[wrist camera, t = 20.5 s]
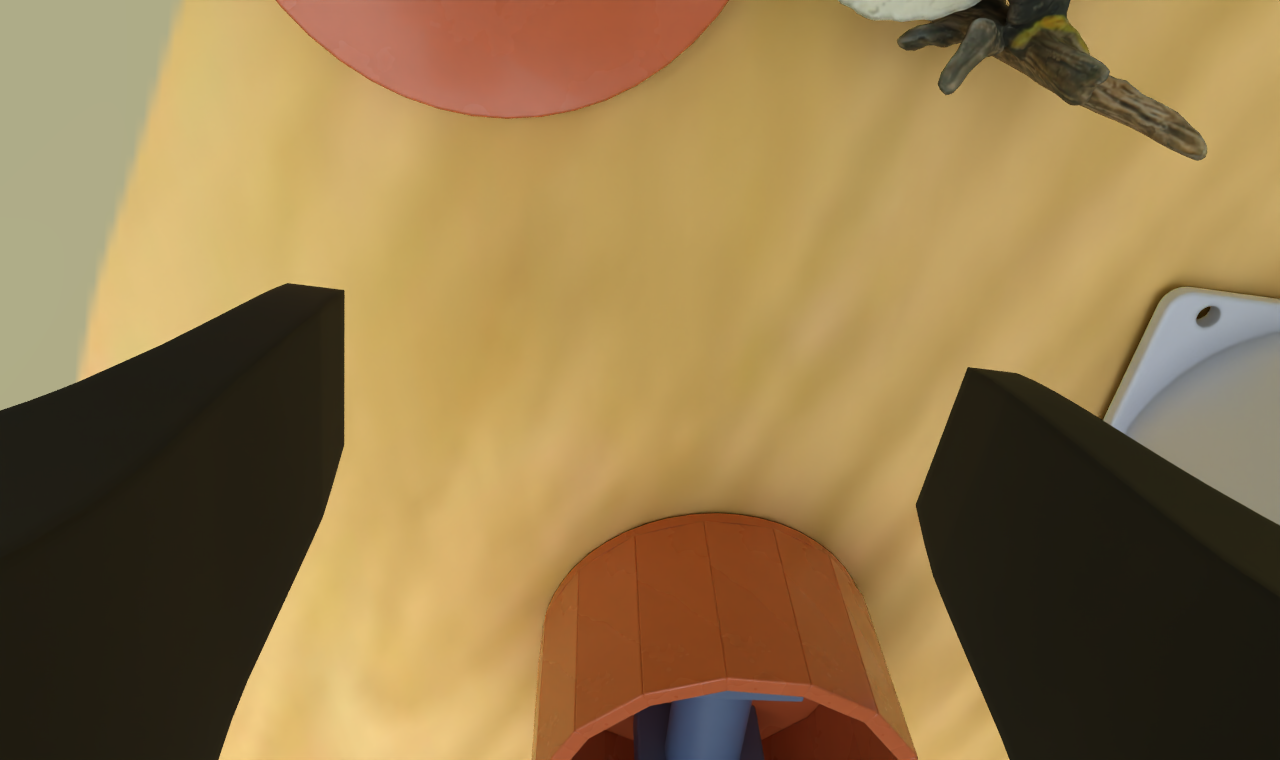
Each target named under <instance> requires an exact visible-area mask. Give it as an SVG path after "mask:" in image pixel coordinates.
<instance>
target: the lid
mask: <svg viewBox="0 0 1280 760" xmlns="http://www.w3.org/2000/svg"><path fill="white" fill-rule="evenodd" d="M276 1H277V2H278V4H279V5H280V6H281V7H282V8H283V9H284V10H285V11H286V12H287V14H288V15H289V16H290V17H291V18H292V19H293V20H294V21H295V22H296V23H297V24H298V25H299V26H300V27H301V28H302V29H303V30H304V31H305V32H306V33H307V34H308V35H309V36H310V37H311V38H313V39H314V40H315V41H316V42H318V43H319V44H320V45H321V46H322V47H324V48H325V49H326V50H327V51H329V52H330V53H331V54H332V55H333V56H335V57H336V58H337V59H338V60H340V61H341V62H343V63H344V64H346V65H347V66H349V67H351V68H352V69H354V70H355V71H357V72H358V73H360V74H361V75H363V76H365V77H366V78H368V79H369V80H371V81H373V82H375V83H377V84H379V85H381V86H383V87H385V88H387V89H389V90H391V91H393V92H395V93H397V94H399V95H401V96H403V97H406V98H409V99H412V100H415V101H418V102H420V103H423V104H426V105H429V106H432V107H435V108H438V109H442V110H447V111H452V112H456V113H461V114H466V115H471V116H480V117H493V118H505V119H509V118H529V117H543V116H548V115H554V114H559V113H564V112H570V111H575V110H578V109H581V108H584V107H587V106H590V105H593V104H596V103H599V102H602V101H605V100H608V99H610V98H612V97H614V96H616V95H618V94H620V93H622V92H624V91H626V90H628V89H630V88H633V87H635V86H637V85H638V84H640V83H641V82H643V81H644V80H646V79H647V78H649V77H651V76H652V75H654V74H655V73H657V72H658V71H660V70H661V69H663V68H664V67H666V66H667V65H668V64H669V63H671V62H672V61H673V60H674V59H675V58H676V57H678V56H679V55H680V54H681V53H682V52H683V51H685V50H686V49H687V48H688V47H689V46H690V45H692V44H693V43H694V42H695V41H696V39H697V38H698V37H699V36H700V35H701V34H702V33H703V32H704V31H705V30H706V28H707V27H708V26H709V25H710V24H711V23H712V22H713V21H714V20H715V18H716V17H717V16H718V15H719V14H720V12H721V11H722V9H723V8H724V6H725V5H726V4H727V2H728V1H729V0H276Z"/></svg>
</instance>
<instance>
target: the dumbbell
mask: <svg viewBox="0 0 1280 760" xmlns="http://www.w3.org/2000/svg"><path fill="white" fill-rule="evenodd" d="M803 698H804V697H797V696H784V695H772V694H760V693H748V692H735V691H724V692H719V693H713V694H708V695H703V696H698V697H693V698H688V699H683V700H678V701H673V702H671V703H662V704H657V705H652V706H649V707H647V708H645V709H644V710H642V711H640V712H638V713H636V714H634V721H633V738H634V760H765V759H764V753H763V748H762V742H761V736H760V731H759V725H758V719H757V714H756V709H755V707H754V706H751V705H752V700H766V701H794V702H802V701H803Z"/></svg>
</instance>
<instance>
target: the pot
mask: <svg viewBox="0 0 1280 760" xmlns="http://www.w3.org/2000/svg"><path fill="white" fill-rule="evenodd" d="M724 691H735V692H748V693H760V694H772V695H784V696H797V697H804V698H803V701H802V702H794V701H766V700H752V705H751V706H754V707H755V709H756V714H757V719H758V725H759V731H760V736H761V742H762V748H763V753H764V759H765V760H918V756H917V753H916V751H915V748H914V745H913V742H912V739H911V736H910V733H909V730H908V727H907V724H906V721H905V718H904V715H903V712H902V709H901V706H900V703H899V701H898V698H897V695H896V692H895V689H894V686H893V683H892V680H891V677H890V674H889V671H888V668H887V665H886V662H885V659H884V656H883V653H882V651H881V648H880V645H879V642H878V639H877V636H876V633H875V630H874V627H873V624H872V621H871V618H870V615H869V612H868V609H867V606H866V603H865V601H864V598H863V595H862V594H861V593H860V592H859V590H858V589H857V587H856V585H855V583H854V581H853V579H852V577H851V576H850V575H849V573H848V572H847V570H846V569H845V567H844V566H843V565H842V564H841V563H840V562H839V561H838V560H837V559H836V558H835V557H834V555H833V554H832V553H831V552H829V551H828V550H827V549H825V548H824V547H823V546H821V545H820V544H819V543H817V542H816V541H815V540H813V539H811V538H809V537H808V536H806V535H804V534H802V533H801V532H799V531H796V530H794V529H792V528H789V527H787V526H784V525H782V524H779V523H776V522H772V521H768V520H765V519H761V518H757V517H751V516H744V515H738V514H721V513H708V514H690V515H684V516H678V517H672V518H667V519H663V520H659V521H655V522H652V523H648V524H645V525H642V526H640V527H637V528H635V529H632V530H629V531H627V532H625V533H623V534H621V535H619V536H617V537H615V538H613V539H611V540H609V541H607V542H606V543H604V544H603V545H601V546H600V547H598V548H597V549H595V550H594V551H592V552H591V553H590V554H588V555H587V556H586V557H585V558H584V559H583V560H582V561H581V562H579V563H578V564H577V565H576V566H575V567H574V568H573V569H572V571H571V572H570V573H569V574H568V575H567V576H566V577H565V579H564V580H563V581H562V583H561V584H560V586H559V587H558V589H557V591H556V592H555V594H554V595H553V597H552V600H551V602H550V604H549V607H548V609H547V611H546V615H545V620H544V624H543V632H542V642H541V649H540V656H539V665H538V679H537V692H536V706H535V720H534V734H533V747H532V760H634V738H633V721H634V714H636V713H638V712H640V711H642V710H644V709H645V708H647V707H649V706H652V705H657V704H662V703H671V702H673V701H678V700H683V699H688V698H693V697H698V696H703V695H708V694H713V693H719V692H724Z"/></svg>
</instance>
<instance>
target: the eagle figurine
mask: <svg viewBox="0 0 1280 760" xmlns="http://www.w3.org/2000/svg"><path fill="white" fill-rule="evenodd" d="M838 1H839V2H840V3H841V4H843V5H845V6H847V7H849V8H851V9H853V10H854V11H855V12H856V13H857V14H859V15H861V16H863V17H865V18H867V19H870V20H874V21H876V20H893V21H899V22H906V21H914V20H921V19H924V20H929V21H930V22H932V23H929V24H925V25H919V26H916V27H914V28H912V29H910V30H908V31H907V32H905V33H904V34H903V35H902V36H900V37H899V39H898V40H897V43H898V45H899V46H900V47H901V48H903V49H905V50H913V51H915V50H917V49H920V48H923V47H925V46H928V45H934V46H938V47H948V46H950V45H952V44H958V43H961V44H960V46H959V48H958V50H957V52H956V53H955V54H954V56H953V57H952V58H951V59H950V61H949V62H948V64H947V65H946V67H945V68H944V69H943V71H942V72H941V75H940V78H939V81H938V86H939V88H940V90H941V91H942V92H943V93H944V94H945V95H949V94H952V93H953V92H954V91H955V90H956V89H957V88H958V87H959V86H960V85H961V83H962V82H963V80H964V79H965V77H966V76H967V75H968V73H969V72H970V71H971V70H972V69H973V68H974V67H975V66H976V65H977V64H978V63H979V62H981V61H982V60H983V59H984V58H985V57H989V56H994V57H995V58H997V59H999V60H1001V61H1002V62H1004V63H1006V64H1008V65H1010V66H1011V67H1013V68H1015V69H1017V70H1019V71H1020V72H1022V73H1024V74H1025V75H1027V76H1029V77H1030V78H1031V79H1033V80H1034V81H1035V82H1037V83H1038V84H1040V85H1041V86H1043V87H1045V88H1047V89H1048V90H1050V91H1052V92H1053V93H1055V94H1057V95H1058V96H1059V97H1060V98H1061V99H1062V100H1064V101H1065V102H1066V103H1068V104H1070V105H1080V106H1083V107H1085V108H1087V109H1089V110H1091V111H1093V112H1095V113H1098V114H1100V115H1103V116H1105V117H1108V118H1110V119H1113V120H1115V121H1117V122H1119V123H1122V124H1124V125H1126V126H1129V127H1131V128H1133V129H1135V130H1137V131H1139V132H1141V133H1142V134H1144V135H1146V136H1148V137H1149V138H1151V139H1153V140H1154V141H1156V142H1158V143H1160V144H1162V145H1163V146H1165V147H1167V148H1169V149H1171V150H1173V151H1175V152H1178V153H1180V154H1182V155H1184V156H1186V157H1189V158H1191V159H1194V160H1197V161H1199V160H1202V159H1203V158H1205V157H1206V154H1207V145H1206V143H1205V141H1204V139H1203V138H1202V136H1201V135H1200V133H1199V132H1198V131H1196V130H1195V129H1194V128H1193V127H1192V126H1191V125H1190V124H1189V123H1188V122H1187V121H1186V120H1185V119H1184V118H1183V117H1182V116H1181V115H1180V114H1179V113H1178V112H1176V111H1174V110H1172V109H1171V108H1169V107H1167V106H1165V105H1164V104H1162V103H1160V102H1157V101H1156V100H1154V99H1152V98H1150V97H1147V96H1145V95H1143V94H1142V93H1141V92H1139V91H1138V90H1137V89H1136V88H1135V87H1133V86H1132V85H1131V84H1130V83H1129V82H1128V81H1126V80H1121V79H1117V78H1114V77H1112V76H1110V75H1109V73H1110V71H1109V69H1108V68H1107V67H1106V66H1105V65H1104V64H1103V63H1102V62H1100V61H1098V60H1097V59H1095V58H1093V57H1092V56H1090V53H1089V50H1088V47H1087V45H1086V44H1085V42H1084V41H1083V40H1082V38H1081V36H1080V35H1079V33H1078V31H1077V30H1076V29H1075V28H1074V27H1072V26H1071V24H1070V23H1069V21H1068V19H1067V10H1068V7H1069V4H1070V0H1008V1H1009V4H1010V5H1009V6H1007V5H1006V1H1005V0H838Z"/></svg>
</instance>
